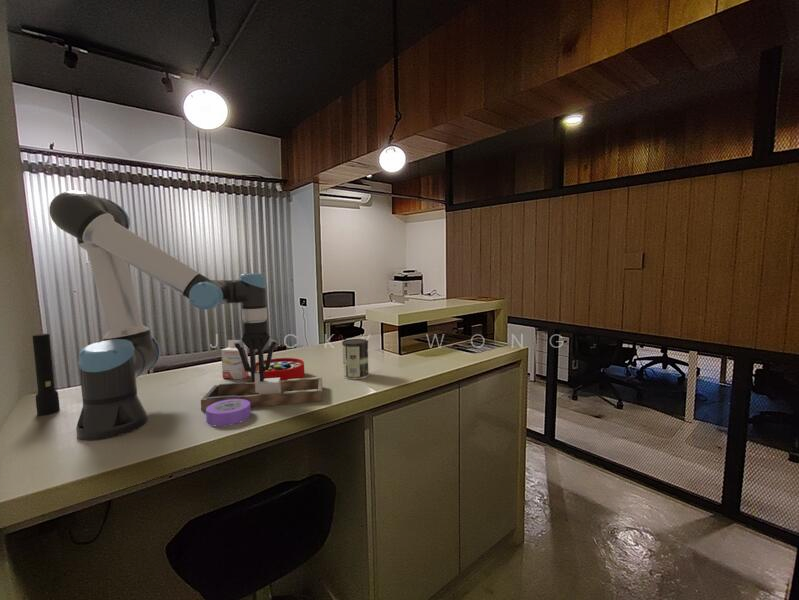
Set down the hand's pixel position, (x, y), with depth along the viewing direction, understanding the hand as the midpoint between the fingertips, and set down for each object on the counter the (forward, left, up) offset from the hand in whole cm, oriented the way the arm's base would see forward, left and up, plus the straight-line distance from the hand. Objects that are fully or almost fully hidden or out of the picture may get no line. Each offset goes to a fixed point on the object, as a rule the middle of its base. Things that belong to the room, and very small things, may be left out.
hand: (258, 391), depth 121 cm
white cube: (+4, 0, -3) cm, 5 cm away
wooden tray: (+3, 0, -3) cm, 4 cm away
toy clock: (+3, +23, -3) cm, 23 cm away
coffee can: (+34, +18, -3) cm, 38 cm away
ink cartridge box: (-13, +27, -3) cm, 31 cm away
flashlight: (-61, +2, -3) cm, 62 cm away
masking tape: (-6, -14, -3) cm, 16 cm away
